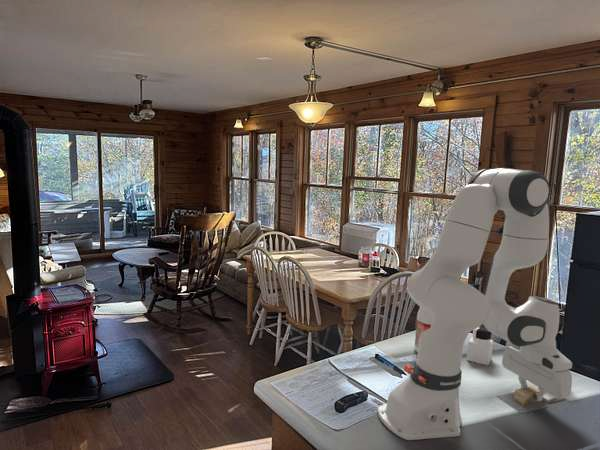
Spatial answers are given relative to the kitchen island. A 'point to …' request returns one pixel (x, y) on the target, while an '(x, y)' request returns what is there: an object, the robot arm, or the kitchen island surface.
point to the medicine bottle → (480, 347)
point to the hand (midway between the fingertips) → (531, 395)
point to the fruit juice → (422, 324)
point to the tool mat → (528, 407)
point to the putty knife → (532, 395)
